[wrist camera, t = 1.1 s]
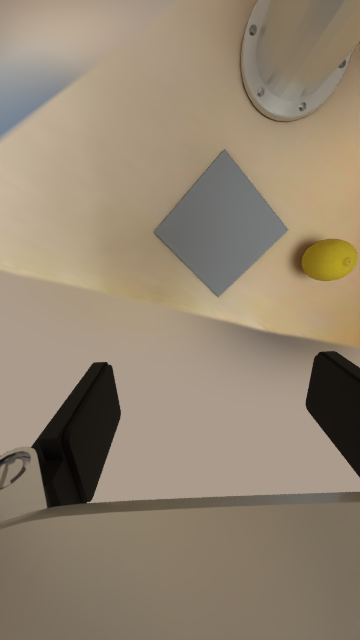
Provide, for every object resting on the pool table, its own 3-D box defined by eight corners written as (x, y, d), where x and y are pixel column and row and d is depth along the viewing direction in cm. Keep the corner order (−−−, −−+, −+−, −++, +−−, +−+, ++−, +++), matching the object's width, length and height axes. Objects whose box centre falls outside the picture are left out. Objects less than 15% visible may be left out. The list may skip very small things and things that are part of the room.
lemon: (330, 238, 31) (378, 235, 24) (324, 275, 33) (367, 283, 25) (293, 241, 31) (330, 238, 24) (289, 278, 33) (322, 286, 25)
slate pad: (223, 151, 27) (224, 149, 27) (286, 230, 31) (288, 229, 30) (154, 232, 31) (153, 232, 30) (217, 296, 34) (218, 297, 33)
